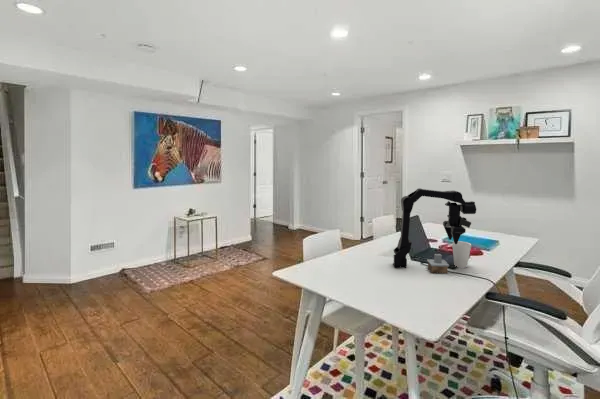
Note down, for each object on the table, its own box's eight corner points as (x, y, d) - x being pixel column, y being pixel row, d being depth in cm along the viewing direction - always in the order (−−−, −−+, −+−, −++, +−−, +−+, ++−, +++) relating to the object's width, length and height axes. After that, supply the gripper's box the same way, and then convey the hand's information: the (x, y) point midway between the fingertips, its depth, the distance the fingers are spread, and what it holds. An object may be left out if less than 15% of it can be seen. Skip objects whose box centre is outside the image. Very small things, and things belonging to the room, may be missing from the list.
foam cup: (472, 269, 183) (473, 246, 181) (453, 268, 185) (454, 245, 183) (467, 263, 192) (468, 241, 190) (449, 263, 194) (450, 241, 192)
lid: (431, 266, 177) (431, 257, 176) (426, 260, 186) (427, 252, 185) (449, 266, 176) (449, 257, 175) (443, 261, 185) (444, 252, 184)
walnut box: (431, 273, 178) (432, 265, 177) (427, 268, 186) (428, 261, 185) (447, 273, 177) (447, 266, 176) (442, 268, 185) (443, 261, 184)
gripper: (476, 217, 172) (475, 246, 174) (463, 211, 190) (462, 237, 192) (454, 217, 173) (452, 246, 175) (443, 211, 192) (442, 237, 194)
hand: (453, 241), depth 184 cm, fingers open, 9 cm apart
